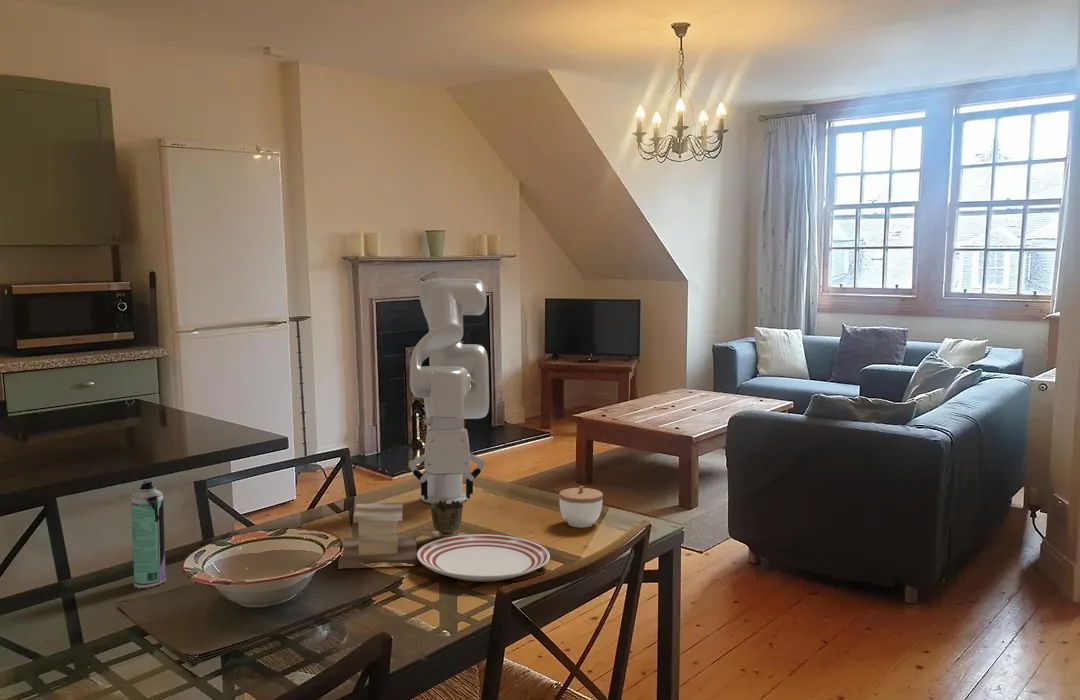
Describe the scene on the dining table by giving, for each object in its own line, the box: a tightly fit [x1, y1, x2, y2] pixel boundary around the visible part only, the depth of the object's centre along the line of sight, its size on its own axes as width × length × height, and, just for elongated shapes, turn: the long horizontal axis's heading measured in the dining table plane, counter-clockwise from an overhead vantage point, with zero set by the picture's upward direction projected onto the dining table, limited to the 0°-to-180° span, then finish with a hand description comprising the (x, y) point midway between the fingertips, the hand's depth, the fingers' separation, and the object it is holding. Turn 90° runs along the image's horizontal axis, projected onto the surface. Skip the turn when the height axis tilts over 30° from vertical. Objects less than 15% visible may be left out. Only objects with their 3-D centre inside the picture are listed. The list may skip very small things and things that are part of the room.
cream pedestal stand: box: [342, 502, 418, 566], centre depth 172 cm, size 16×16×10 cm
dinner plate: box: [417, 533, 551, 583], centre depth 166 cm, size 27×27×3 cm
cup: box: [430, 500, 464, 539], centre depth 184 cm, size 8×7×8 cm
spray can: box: [131, 480, 166, 589], centre depth 154 cm, size 6×6×20 cm
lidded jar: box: [558, 485, 604, 529], centre depth 196 cm, size 11×11×9 cm
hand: (447, 497), depth 183 cm, fingers open, 9 cm apart
